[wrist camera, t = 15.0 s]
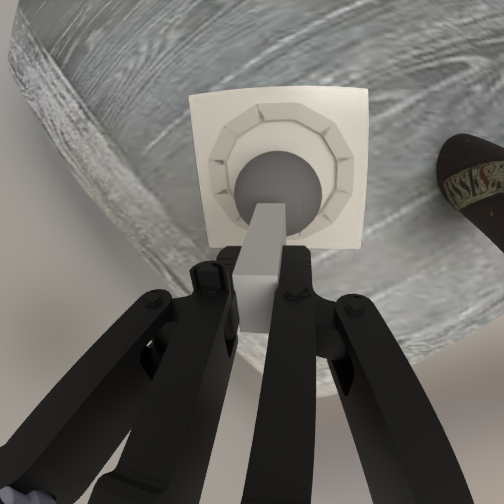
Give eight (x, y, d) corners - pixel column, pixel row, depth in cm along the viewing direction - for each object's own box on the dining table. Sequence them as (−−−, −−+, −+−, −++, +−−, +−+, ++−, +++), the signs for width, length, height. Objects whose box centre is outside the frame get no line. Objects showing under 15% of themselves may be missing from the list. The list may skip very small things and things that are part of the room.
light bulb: (241, 186, 27) (214, 233, 18) (262, 127, 23) (243, 145, 15) (299, 209, 27) (300, 266, 18) (325, 153, 24) (343, 186, 15)
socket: (211, 244, 31) (206, 252, 30) (191, 95, 23) (184, 95, 22) (358, 245, 29) (361, 253, 27) (365, 89, 21) (370, 88, 19)
